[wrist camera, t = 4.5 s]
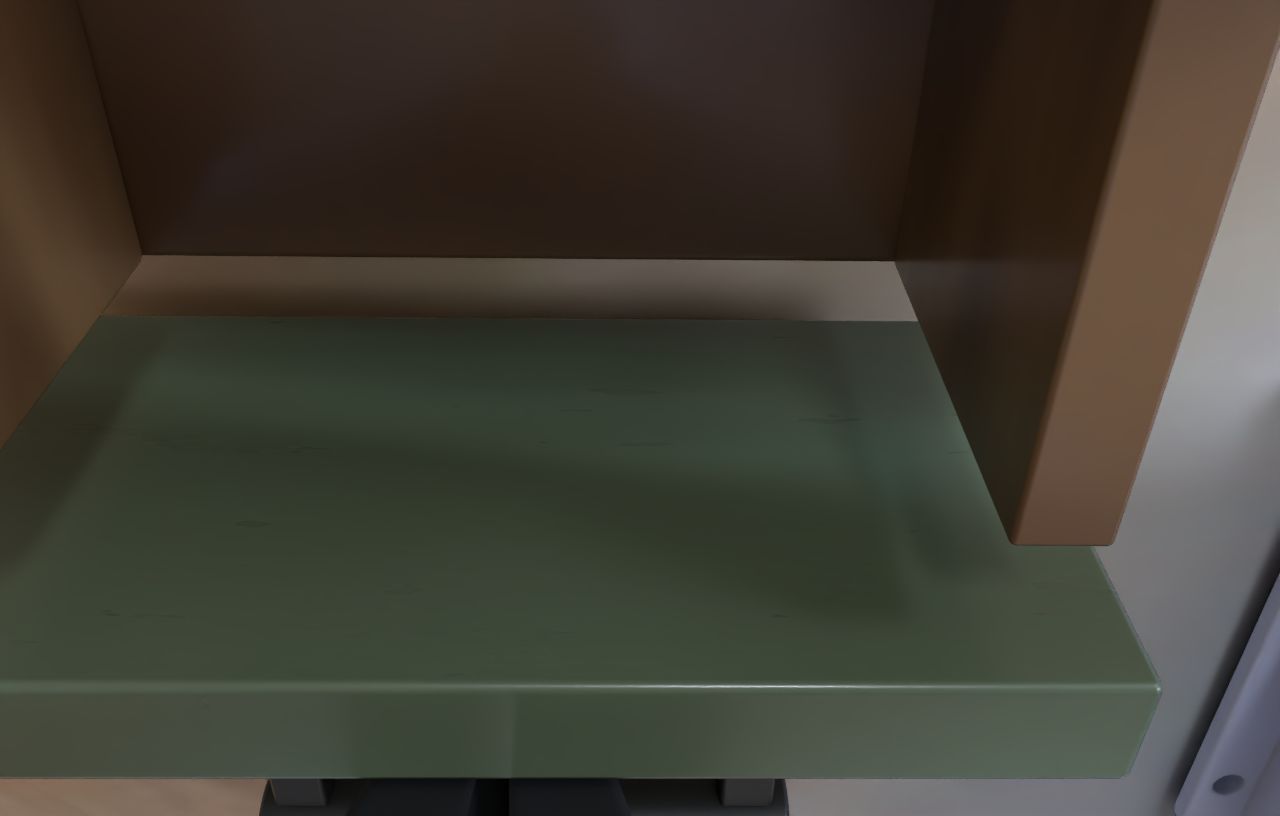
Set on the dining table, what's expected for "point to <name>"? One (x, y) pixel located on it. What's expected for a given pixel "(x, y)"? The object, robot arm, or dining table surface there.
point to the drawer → (596, 389)
